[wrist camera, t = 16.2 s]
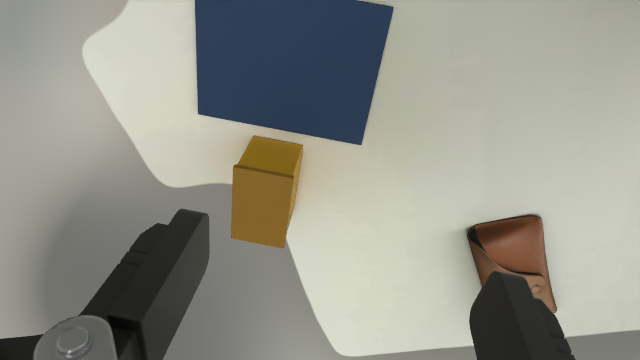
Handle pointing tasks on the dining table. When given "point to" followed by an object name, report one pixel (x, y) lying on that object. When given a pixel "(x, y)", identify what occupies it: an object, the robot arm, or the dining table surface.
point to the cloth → (291, 63)
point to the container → (265, 191)
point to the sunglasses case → (513, 253)
